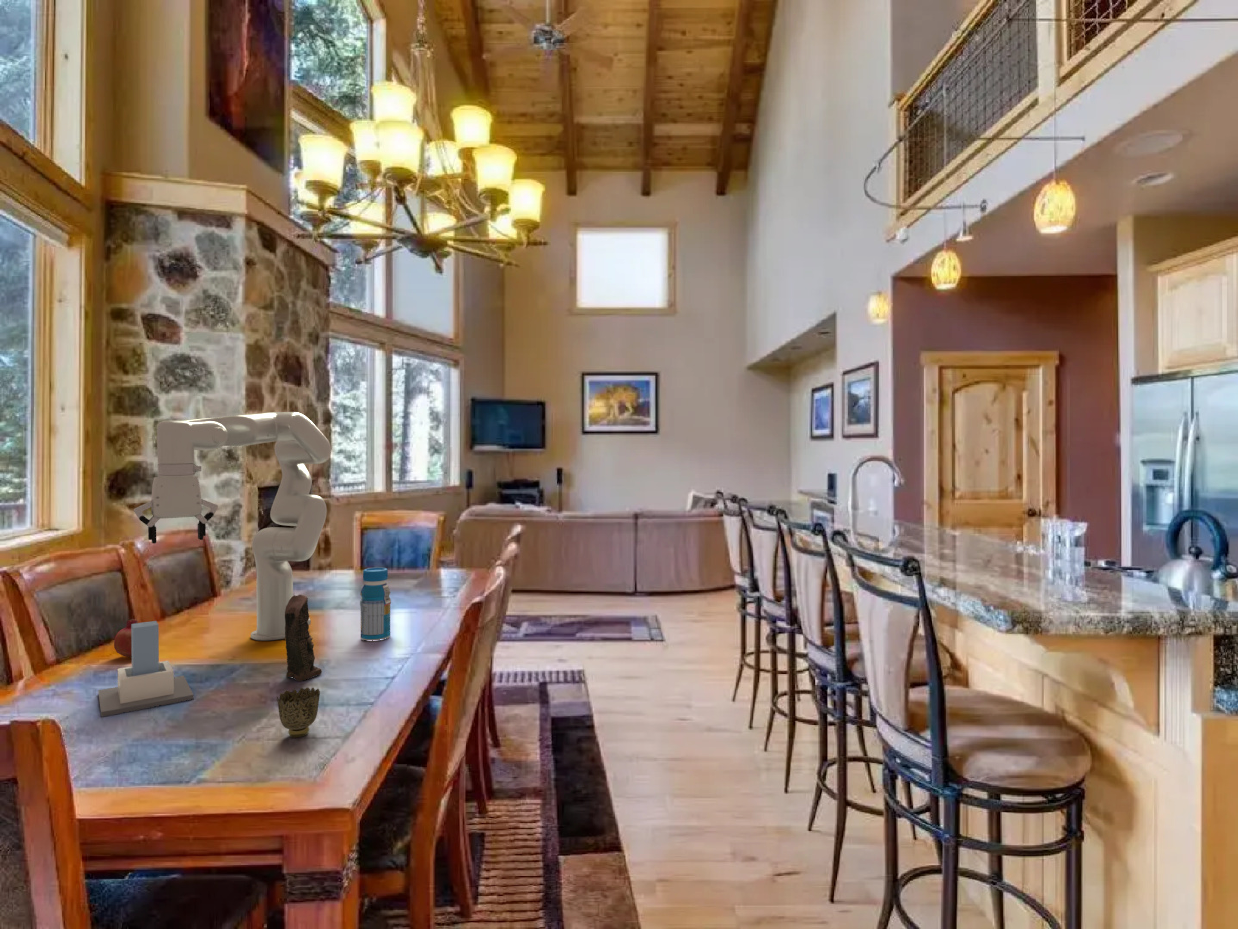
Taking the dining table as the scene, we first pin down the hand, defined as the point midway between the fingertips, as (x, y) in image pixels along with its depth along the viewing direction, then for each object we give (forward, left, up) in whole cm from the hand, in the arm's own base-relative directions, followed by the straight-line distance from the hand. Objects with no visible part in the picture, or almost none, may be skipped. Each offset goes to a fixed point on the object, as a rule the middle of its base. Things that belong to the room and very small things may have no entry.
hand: (177, 541), depth 167 cm
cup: (-13, +59, -32) cm, 68 cm away
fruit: (+8, -20, -32) cm, 39 cm away
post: (+8, +17, -31) cm, 36 cm away
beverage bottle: (-48, +1, -32) cm, 58 cm away
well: (+8, +17, -32) cm, 37 cm away
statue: (-22, +24, -32) cm, 46 cm away
